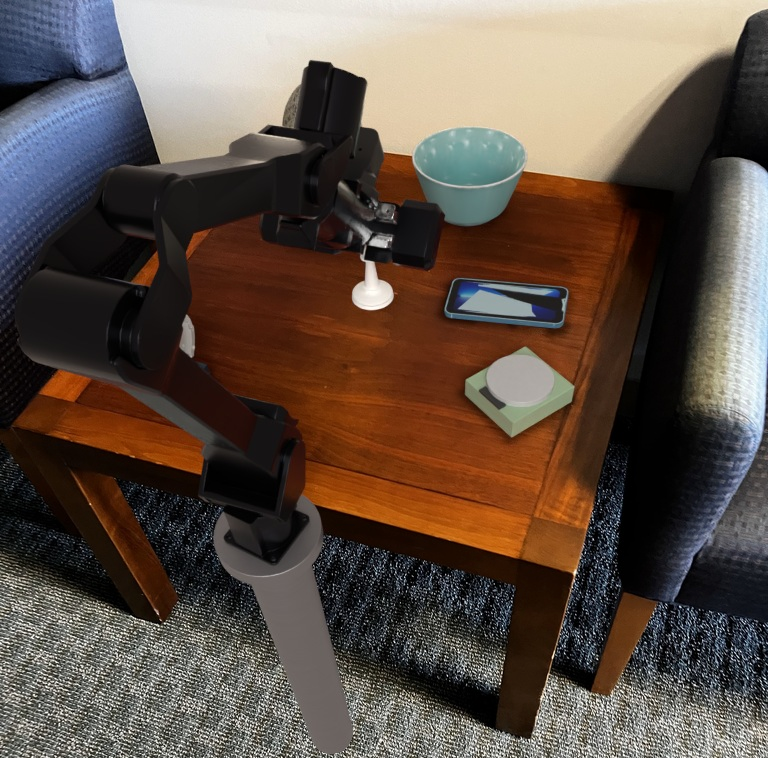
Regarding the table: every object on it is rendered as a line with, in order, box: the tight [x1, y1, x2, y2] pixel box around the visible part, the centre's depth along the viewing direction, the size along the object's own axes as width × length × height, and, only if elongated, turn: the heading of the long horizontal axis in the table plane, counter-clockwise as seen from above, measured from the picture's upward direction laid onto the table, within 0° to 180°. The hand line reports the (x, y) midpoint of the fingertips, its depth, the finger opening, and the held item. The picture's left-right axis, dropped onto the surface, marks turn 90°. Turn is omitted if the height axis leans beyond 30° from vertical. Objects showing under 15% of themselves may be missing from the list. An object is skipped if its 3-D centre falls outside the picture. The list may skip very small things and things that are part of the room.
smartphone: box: [443, 277, 570, 329], centre depth 98 cm, size 7×1×15 cm
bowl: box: [411, 125, 529, 227], centre depth 108 cm, size 16×16×8 cm
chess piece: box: [351, 245, 395, 311], centre depth 86 cm, size 5×5×10 cm
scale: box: [464, 346, 575, 438], centre depth 88 cm, size 9×8×3 cm
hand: (373, 241), depth 86 cm, fingers closed on chess piece
